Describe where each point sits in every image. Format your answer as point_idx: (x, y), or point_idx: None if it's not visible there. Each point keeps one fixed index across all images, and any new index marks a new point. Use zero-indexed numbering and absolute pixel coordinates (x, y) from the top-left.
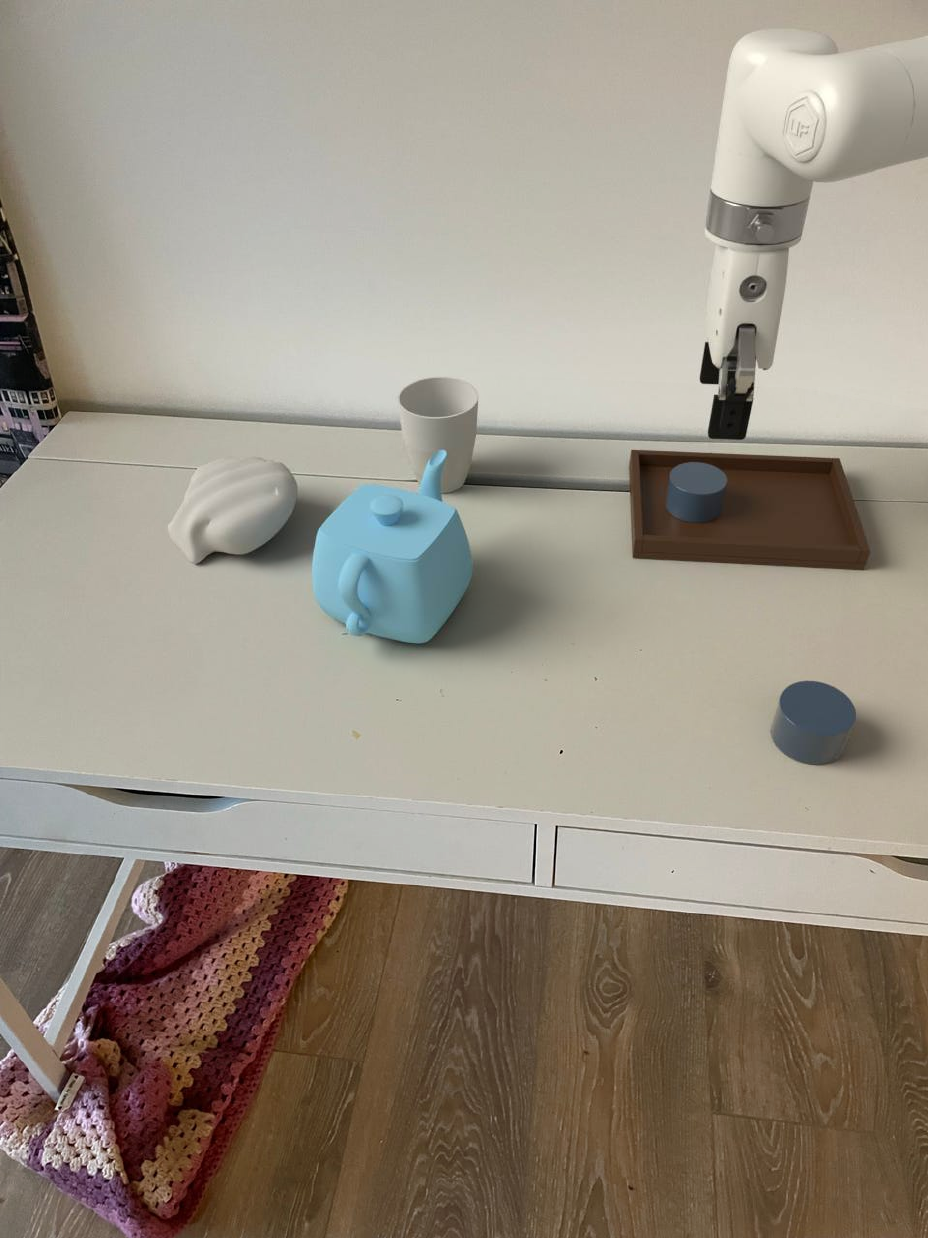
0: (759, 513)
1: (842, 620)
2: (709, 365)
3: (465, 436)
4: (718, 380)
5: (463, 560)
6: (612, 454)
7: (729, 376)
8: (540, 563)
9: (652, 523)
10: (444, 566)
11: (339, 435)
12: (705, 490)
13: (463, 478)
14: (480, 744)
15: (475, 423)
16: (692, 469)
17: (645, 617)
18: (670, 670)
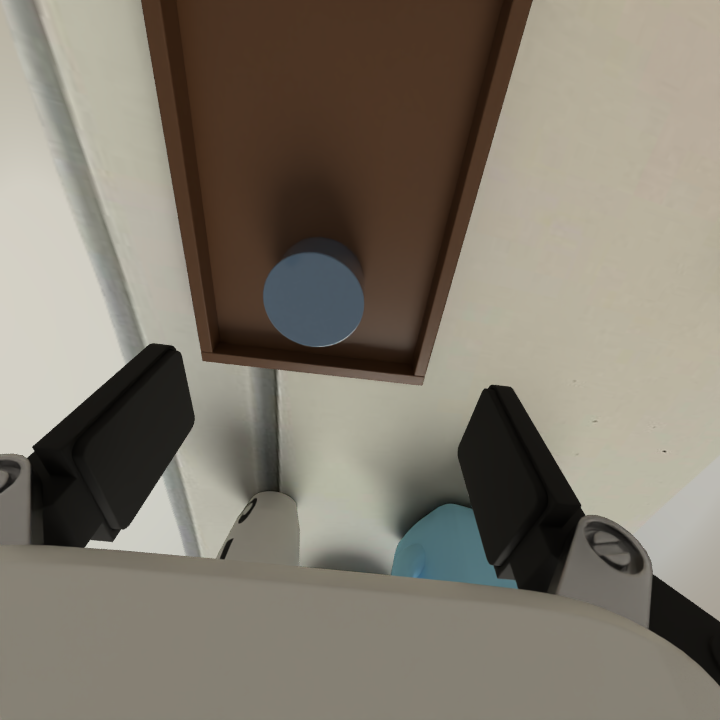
0: (340, 167)
1: (647, 74)
2: (162, 457)
3: (282, 562)
4: (182, 393)
5: (480, 551)
6: (186, 360)
7: (168, 377)
8: (413, 446)
9: (362, 344)
10: (513, 580)
11: (214, 557)
12: (353, 299)
13: (283, 503)
14: (623, 493)
15: (260, 562)
16: (289, 309)
17: (525, 369)
18: (618, 358)
